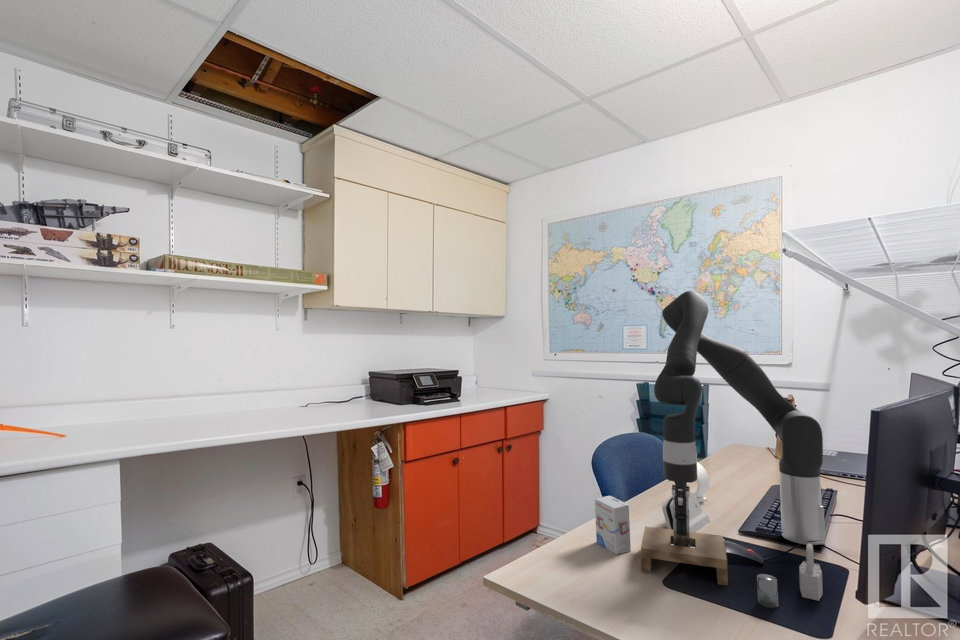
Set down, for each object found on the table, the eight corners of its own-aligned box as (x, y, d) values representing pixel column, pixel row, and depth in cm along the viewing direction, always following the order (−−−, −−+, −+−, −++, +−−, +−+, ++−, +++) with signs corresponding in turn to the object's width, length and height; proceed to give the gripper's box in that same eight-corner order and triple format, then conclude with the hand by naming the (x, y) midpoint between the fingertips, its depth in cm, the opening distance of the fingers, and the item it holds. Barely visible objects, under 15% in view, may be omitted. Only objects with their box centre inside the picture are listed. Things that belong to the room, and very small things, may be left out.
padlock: (822, 602, 101) (820, 552, 102) (798, 597, 104) (797, 548, 104) (823, 588, 107) (821, 540, 107) (800, 582, 110) (799, 536, 110)
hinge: (686, 537, 134) (673, 499, 137) (670, 539, 138) (657, 502, 140) (710, 520, 146) (697, 486, 149) (695, 522, 149) (683, 488, 152)
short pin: (775, 599, 103) (774, 574, 103) (780, 608, 99) (779, 583, 99) (756, 597, 104) (754, 573, 104) (760, 606, 100) (759, 581, 100)
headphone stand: (694, 496, 168) (693, 460, 168) (710, 501, 163) (708, 464, 163) (684, 498, 166) (683, 462, 166) (699, 504, 161) (698, 466, 161)
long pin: (690, 553, 120) (688, 503, 120) (690, 560, 117) (688, 508, 117) (674, 551, 121) (672, 501, 122) (673, 557, 118) (672, 506, 118)
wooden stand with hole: (723, 558, 122) (722, 535, 122) (727, 585, 109) (727, 560, 109) (645, 547, 129) (645, 526, 129) (641, 572, 116) (640, 548, 116)
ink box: (594, 542, 133) (593, 497, 133) (610, 539, 135) (609, 494, 135) (615, 555, 125) (614, 507, 125) (631, 551, 127) (630, 504, 127)
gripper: (697, 467, 112) (699, 546, 111) (696, 453, 125) (698, 523, 124) (661, 465, 115) (663, 541, 114) (664, 451, 128) (666, 519, 127)
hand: (681, 531), depth 119 cm, fingers closed on long pin, 3 cm apart
